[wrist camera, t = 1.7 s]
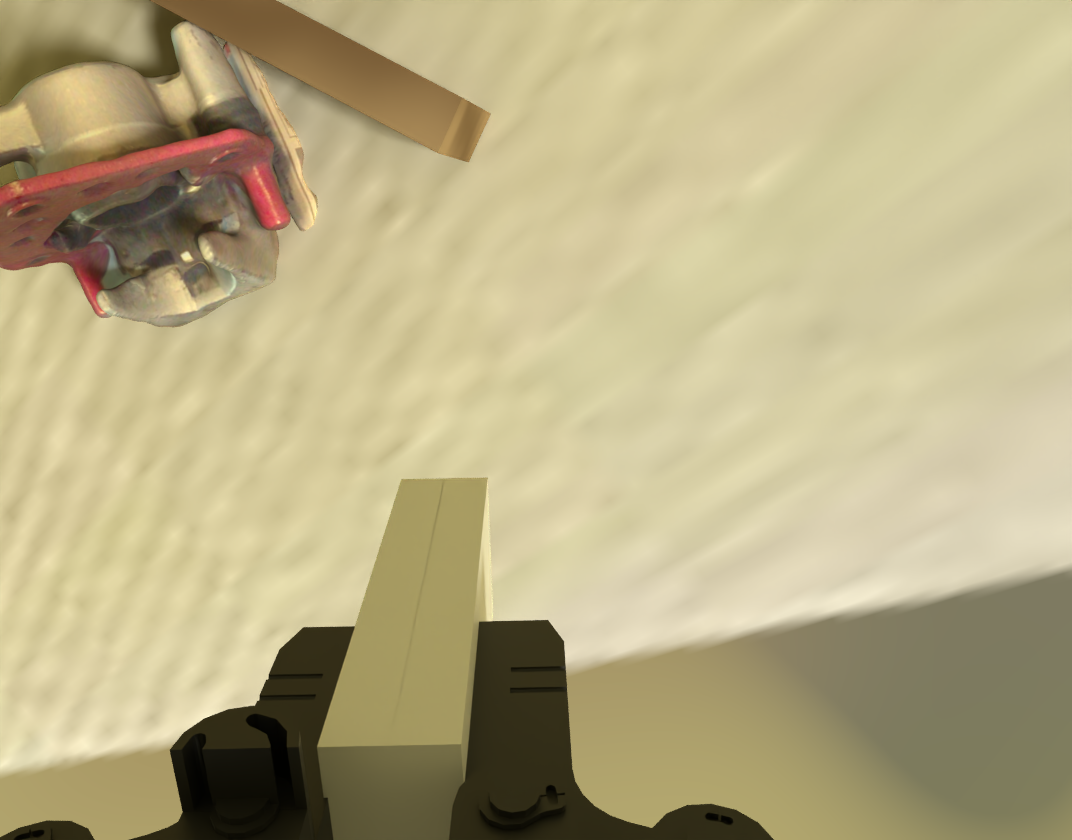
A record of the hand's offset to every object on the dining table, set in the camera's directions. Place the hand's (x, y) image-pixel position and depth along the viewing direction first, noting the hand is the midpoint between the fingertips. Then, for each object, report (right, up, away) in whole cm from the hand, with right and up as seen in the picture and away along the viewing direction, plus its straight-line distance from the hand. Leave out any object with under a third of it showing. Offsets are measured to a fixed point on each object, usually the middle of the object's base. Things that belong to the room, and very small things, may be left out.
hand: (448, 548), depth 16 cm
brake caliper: (-13, +12, +21) cm, 27 cm away
